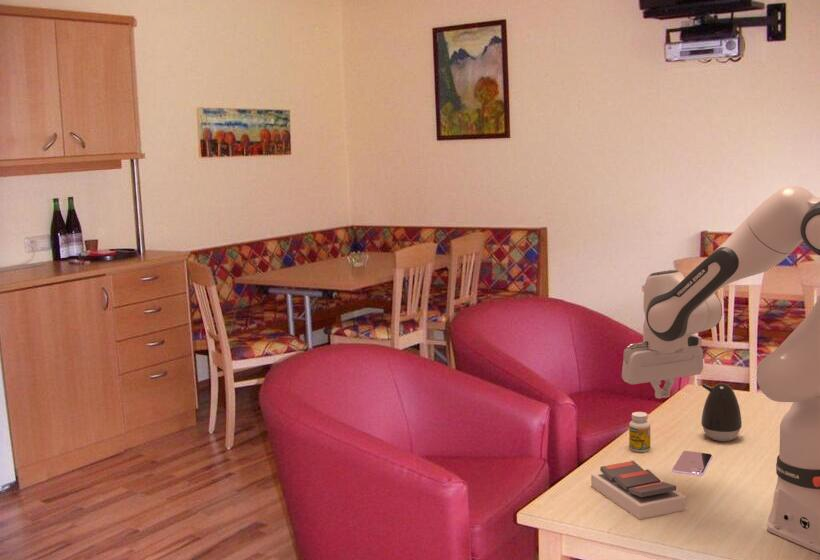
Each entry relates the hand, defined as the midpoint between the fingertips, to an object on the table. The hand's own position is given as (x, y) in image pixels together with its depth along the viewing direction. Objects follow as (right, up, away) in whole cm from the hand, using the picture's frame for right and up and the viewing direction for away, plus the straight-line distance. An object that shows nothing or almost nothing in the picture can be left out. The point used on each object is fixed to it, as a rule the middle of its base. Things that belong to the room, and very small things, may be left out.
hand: (662, 397), depth 212 cm
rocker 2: (-7, -19, -5) cm, 20 cm away
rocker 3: (-5, -19, -11) cm, 23 cm away
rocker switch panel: (-7, -22, -4) cm, 24 cm away
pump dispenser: (+24, -15, +32) cm, 43 cm away
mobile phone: (+12, -19, +15) cm, 27 cm away
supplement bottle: (+1, -17, +26) cm, 31 cm away
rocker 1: (-9, -18, +1) cm, 20 cm away
